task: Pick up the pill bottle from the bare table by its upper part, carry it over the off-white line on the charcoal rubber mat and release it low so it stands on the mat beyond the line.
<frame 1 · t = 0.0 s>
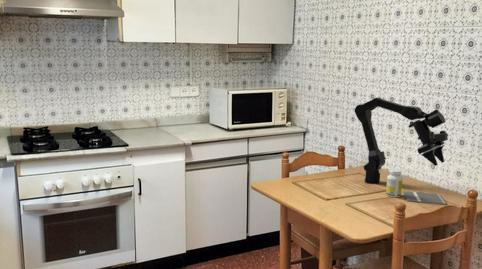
hand: (439, 163, 209), 15 cm above the table, tool tilted 35°, fingers open, 9 cm apart
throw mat: (423, 198, 207), on the table
pill bottle: (393, 196, 210), on the table
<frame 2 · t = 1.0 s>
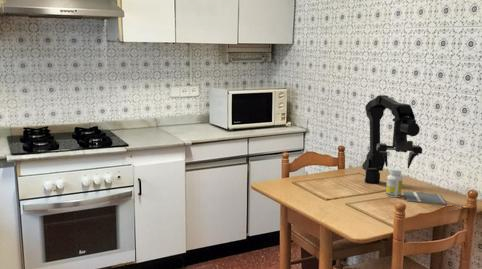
hand: (397, 167, 207), 13 cm above the table, tool pointing down, fingers open, 9 cm apart
nothing on the table moved.
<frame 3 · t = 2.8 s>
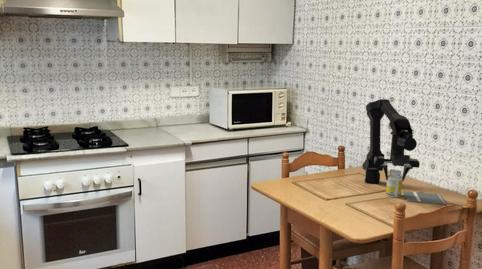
hand: (394, 180, 208), 7 cm above the table, tool pointing down, fingers closed on pill bottle, 6 cm apart
pill bottle: (393, 196, 210), on the table, touching gripper
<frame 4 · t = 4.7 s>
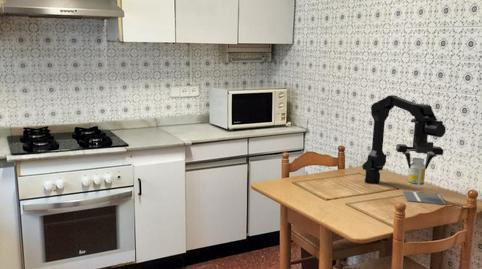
hand: (417, 168, 205), 13 cm above the table, tool pointing down, fingers closed on pill bottle, 6 cm apart
pill bottle: (415, 184, 207), point 6 cm above the table, touching gripper
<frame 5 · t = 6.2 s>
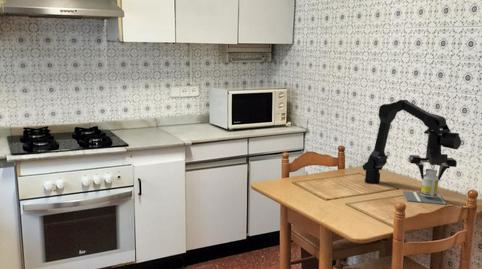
hand: (430, 179, 205), 9 cm above the table, tool pointing down, fingers closed on pill bottle, 6 cm apart
pill bottle: (428, 195, 207), point 1 cm above the table, touching gripper
when the fingers open (8 cm above the table, at t = 7.1 s): pill bottle stays where it is, resting on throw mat.
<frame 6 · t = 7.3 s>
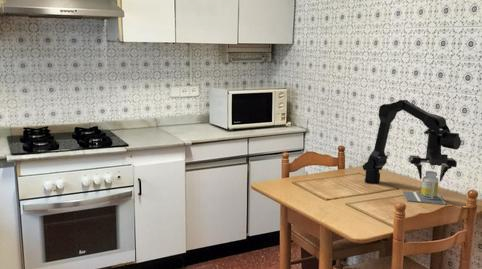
hand: (430, 180, 205), 8 cm above the table, tool pointing down, fingers open, 8 cm apart
pill bottle: (428, 197, 207), resting on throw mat
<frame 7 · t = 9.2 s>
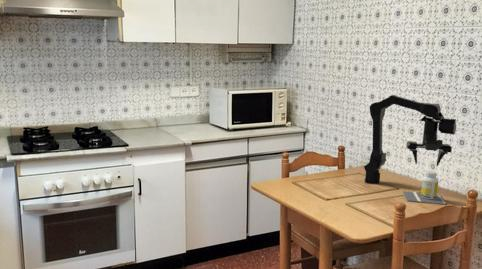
hand: (426, 165, 215), 13 cm above the table, tool pointing down, fingers open, 9 cm apart
nothing on the table moved.
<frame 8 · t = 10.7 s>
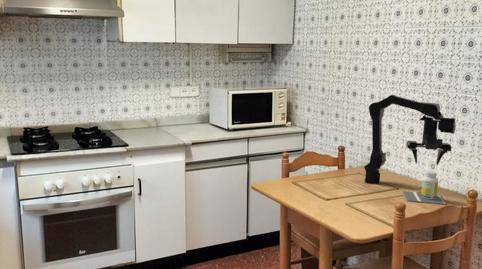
hand: (426, 164, 216), 13 cm above the table, tool pointing down, fingers open, 9 cm apart
nothing on the table moved.
at the end: pill bottle inside the target area (0.9 cm from its centre), resting on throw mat; pill bottle tilted 0°; the gripper is holding nothing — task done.
